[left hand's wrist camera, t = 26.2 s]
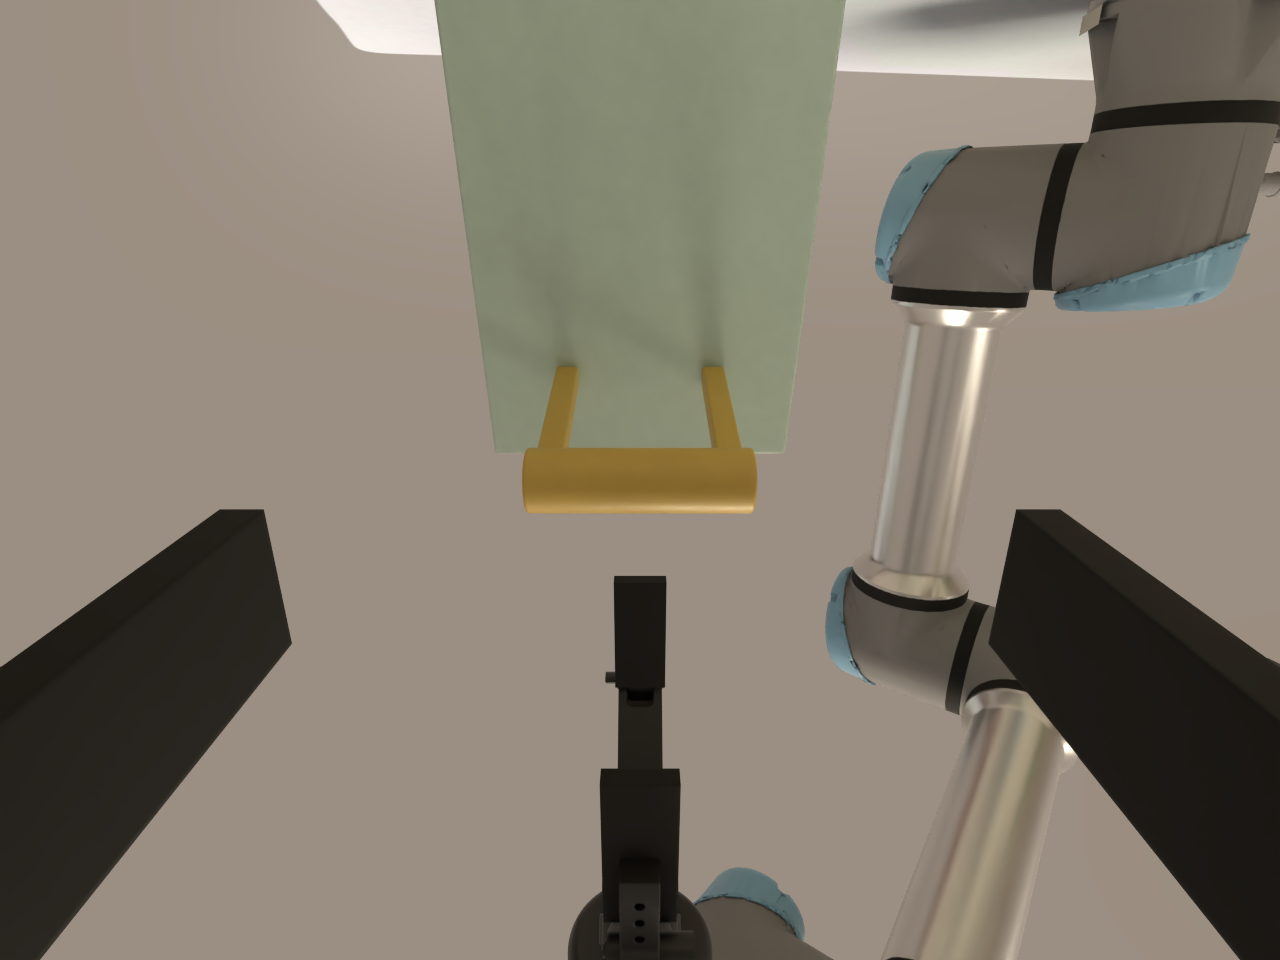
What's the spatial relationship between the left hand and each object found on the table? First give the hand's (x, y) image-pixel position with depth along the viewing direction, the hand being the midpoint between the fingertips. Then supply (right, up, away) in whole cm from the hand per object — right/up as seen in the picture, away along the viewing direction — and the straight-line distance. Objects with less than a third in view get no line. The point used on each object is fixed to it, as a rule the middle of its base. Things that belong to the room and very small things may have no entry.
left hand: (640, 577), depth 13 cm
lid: (0, +9, +9) cm, 13 cm away
